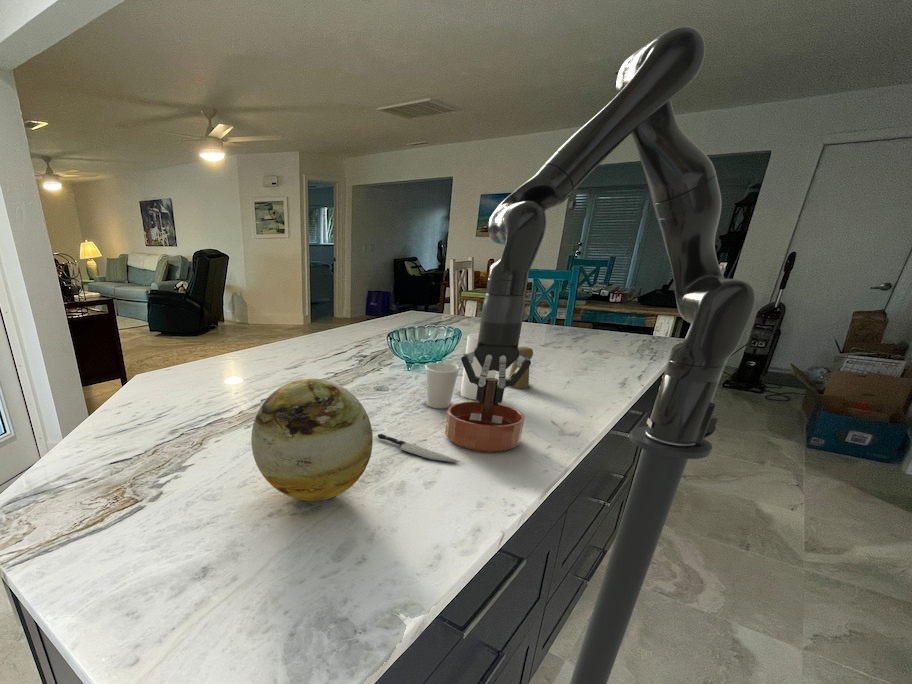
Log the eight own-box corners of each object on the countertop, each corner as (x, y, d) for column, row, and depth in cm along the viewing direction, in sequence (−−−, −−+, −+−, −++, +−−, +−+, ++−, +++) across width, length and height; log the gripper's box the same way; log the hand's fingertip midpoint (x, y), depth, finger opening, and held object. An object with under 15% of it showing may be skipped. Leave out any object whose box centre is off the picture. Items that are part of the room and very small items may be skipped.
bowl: (517, 430, 105) (522, 405, 102) (521, 458, 92) (526, 430, 89) (447, 422, 110) (450, 398, 107) (441, 448, 97) (444, 421, 94)
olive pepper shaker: (522, 389, 132) (529, 350, 127) (502, 385, 136) (508, 347, 131) (532, 385, 135) (539, 347, 131) (512, 381, 139) (518, 344, 135)
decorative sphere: (271, 463, 91) (265, 363, 83) (373, 470, 88) (378, 366, 80) (240, 519, 74) (229, 398, 65) (366, 530, 70) (371, 404, 62)
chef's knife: (452, 468, 88) (460, 462, 90) (453, 463, 88) (460, 457, 90) (370, 441, 100) (378, 436, 102) (370, 436, 100) (379, 431, 102)
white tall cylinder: (473, 388, 133) (481, 331, 126) (498, 396, 127) (508, 336, 120) (454, 394, 129) (461, 335, 122) (478, 401, 123) (487, 340, 116)
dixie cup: (432, 411, 116) (436, 372, 112) (415, 401, 124) (419, 364, 119) (461, 407, 119) (466, 369, 114) (443, 398, 126) (447, 361, 122)
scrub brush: (500, 430, 100) (509, 377, 95) (499, 437, 97) (508, 383, 92) (469, 426, 103) (476, 375, 98) (467, 433, 99) (474, 380, 94)
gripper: (462, 320, 89) (452, 406, 96) (542, 323, 85) (525, 413, 92) (464, 314, 95) (455, 395, 102) (539, 316, 91) (523, 401, 98)
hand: (488, 403), depth 97 cm, fingers closed on scrub brush, 2 cm apart
